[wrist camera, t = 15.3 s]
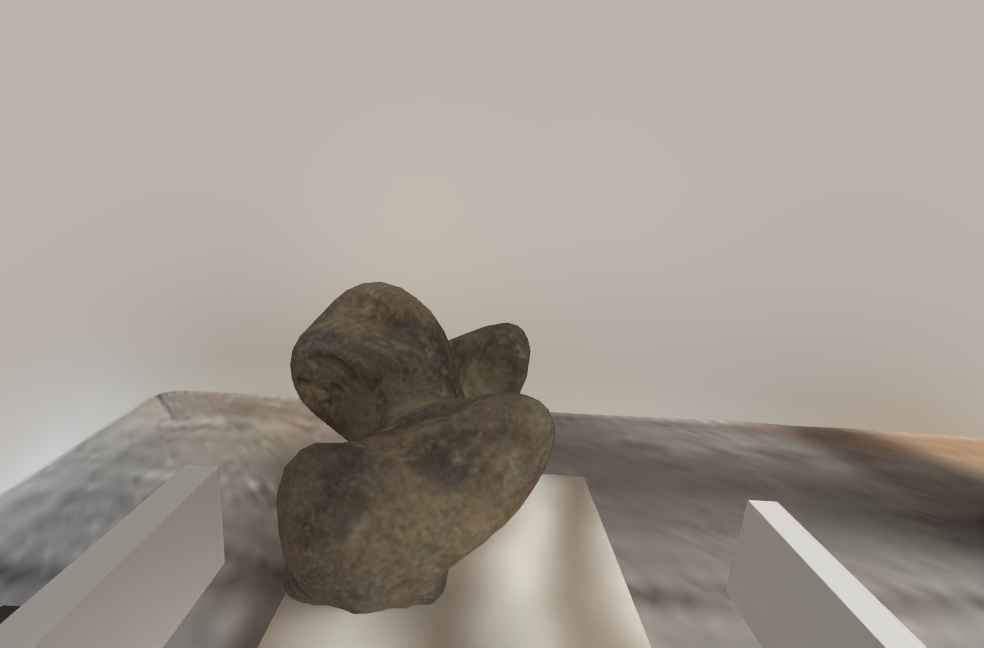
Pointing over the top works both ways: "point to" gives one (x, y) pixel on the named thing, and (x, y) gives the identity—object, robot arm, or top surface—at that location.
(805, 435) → the top surface
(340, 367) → the decorative stone
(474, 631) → the block
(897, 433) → the top surface
